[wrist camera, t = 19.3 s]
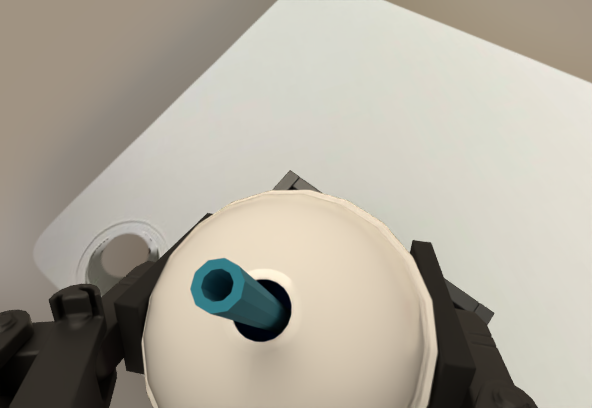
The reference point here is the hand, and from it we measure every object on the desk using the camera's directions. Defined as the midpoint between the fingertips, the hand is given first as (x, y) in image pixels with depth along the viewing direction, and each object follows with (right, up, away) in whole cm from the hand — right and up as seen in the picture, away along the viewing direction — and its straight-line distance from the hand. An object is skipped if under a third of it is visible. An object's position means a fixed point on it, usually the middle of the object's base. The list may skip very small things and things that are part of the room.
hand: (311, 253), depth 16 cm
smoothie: (0, -6, +7) cm, 9 cm away
